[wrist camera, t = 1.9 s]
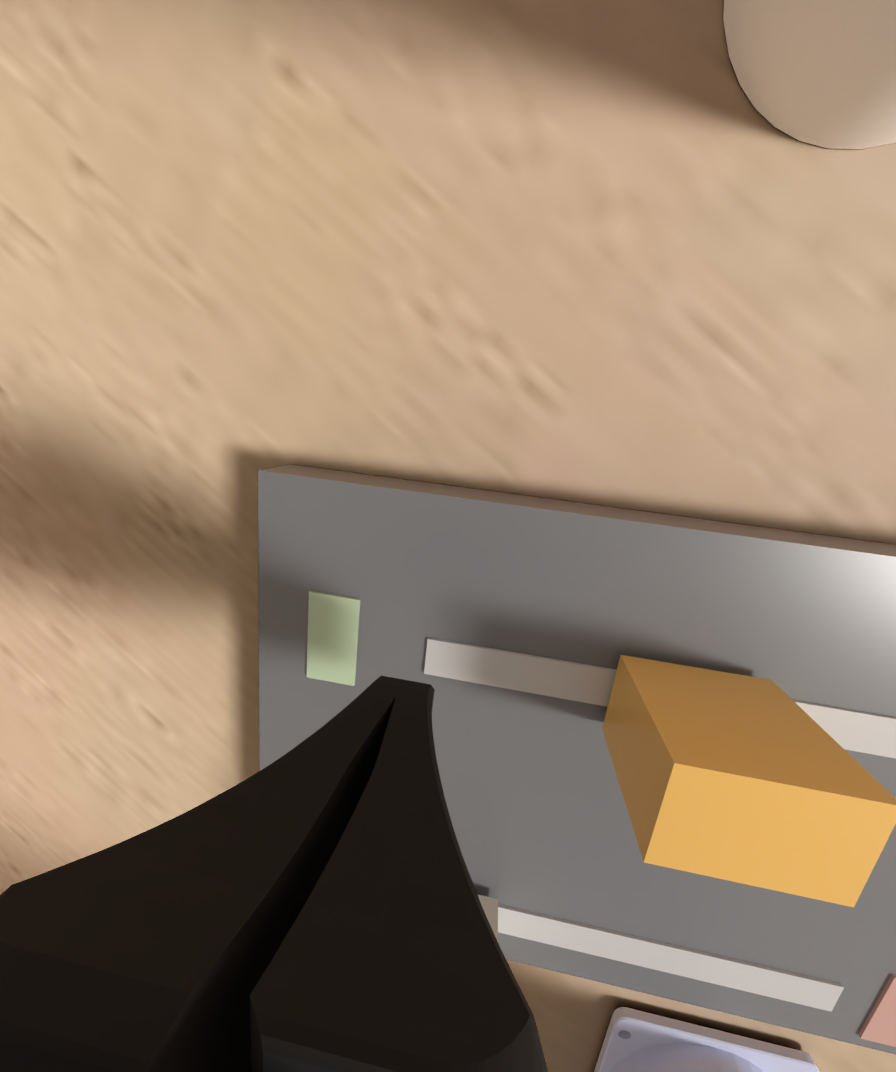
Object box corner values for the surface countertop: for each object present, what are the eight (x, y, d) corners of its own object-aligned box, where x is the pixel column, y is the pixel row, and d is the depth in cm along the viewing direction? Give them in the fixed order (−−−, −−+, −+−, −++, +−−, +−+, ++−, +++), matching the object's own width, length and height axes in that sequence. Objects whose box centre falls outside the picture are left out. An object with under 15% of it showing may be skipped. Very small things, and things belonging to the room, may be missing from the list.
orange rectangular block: (744, 755, 12) (853, 907, 8) (601, 729, 13) (644, 862, 9) (771, 680, 11) (904, 807, 8) (620, 654, 12) (674, 763, 8)
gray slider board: (876, 986, 16) (928, 1066, 14) (285, 850, 19) (258, 901, 17) (1107, 572, 12) (1230, 603, 10) (291, 464, 14) (256, 470, 12)
